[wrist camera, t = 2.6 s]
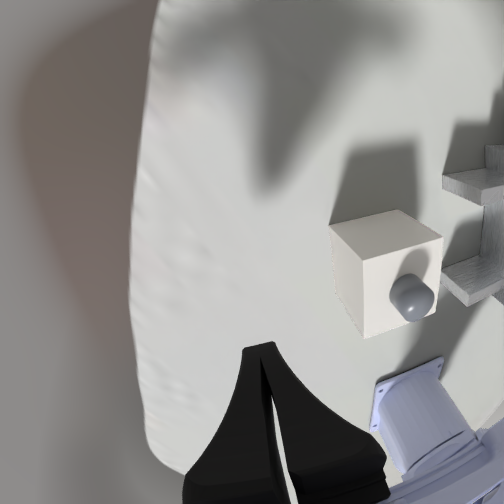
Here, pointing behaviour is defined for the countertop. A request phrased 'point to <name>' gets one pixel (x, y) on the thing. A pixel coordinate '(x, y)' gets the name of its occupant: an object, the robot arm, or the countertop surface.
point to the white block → (386, 270)
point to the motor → (493, 234)
